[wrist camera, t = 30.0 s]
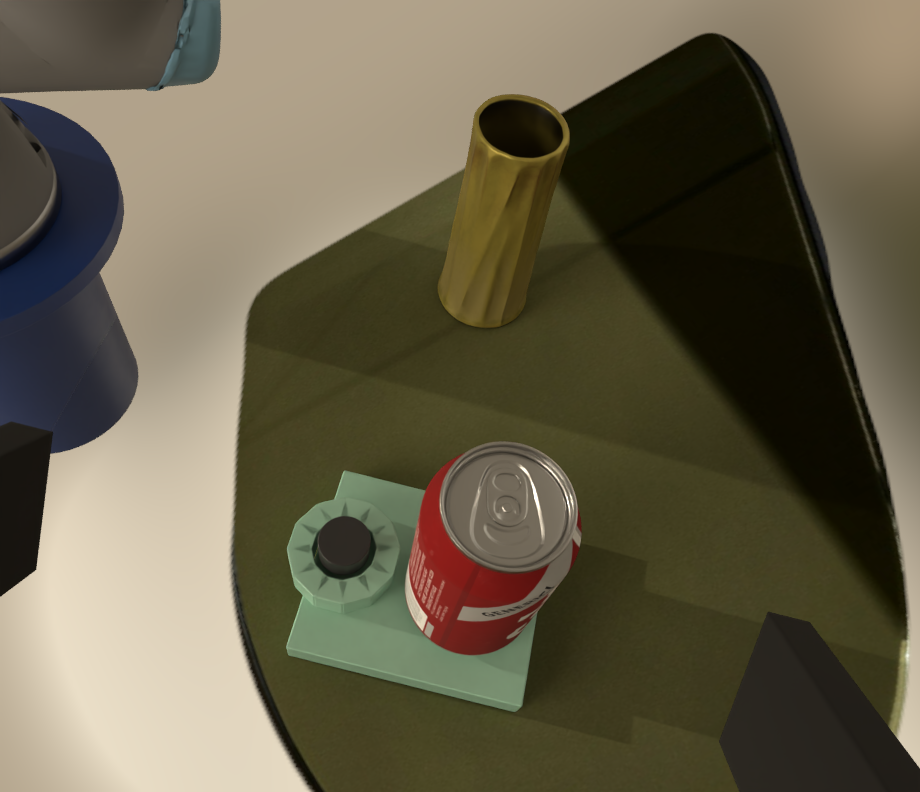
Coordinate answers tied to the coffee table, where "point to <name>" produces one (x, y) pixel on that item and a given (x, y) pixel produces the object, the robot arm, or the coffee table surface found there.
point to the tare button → (344, 545)
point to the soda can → (490, 546)
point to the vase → (502, 208)
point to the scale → (387, 605)
